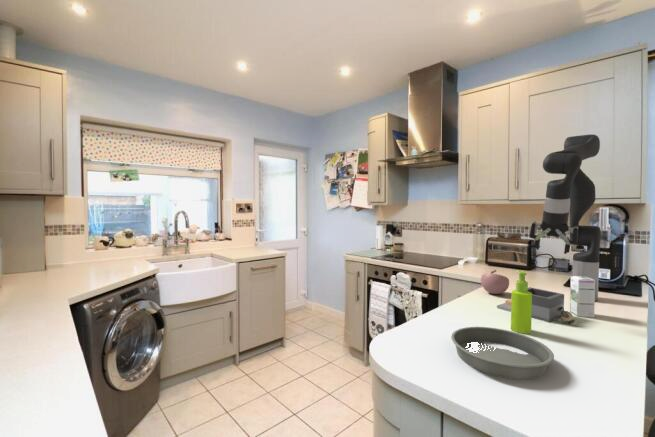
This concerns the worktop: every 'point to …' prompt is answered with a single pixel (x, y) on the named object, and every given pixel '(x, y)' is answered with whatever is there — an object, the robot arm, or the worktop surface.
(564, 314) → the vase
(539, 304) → the socket
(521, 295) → the soap dispenser
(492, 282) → the pink apple
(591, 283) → the syrup box
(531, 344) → the cake pan
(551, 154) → the robot arm
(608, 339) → the worktop surface
